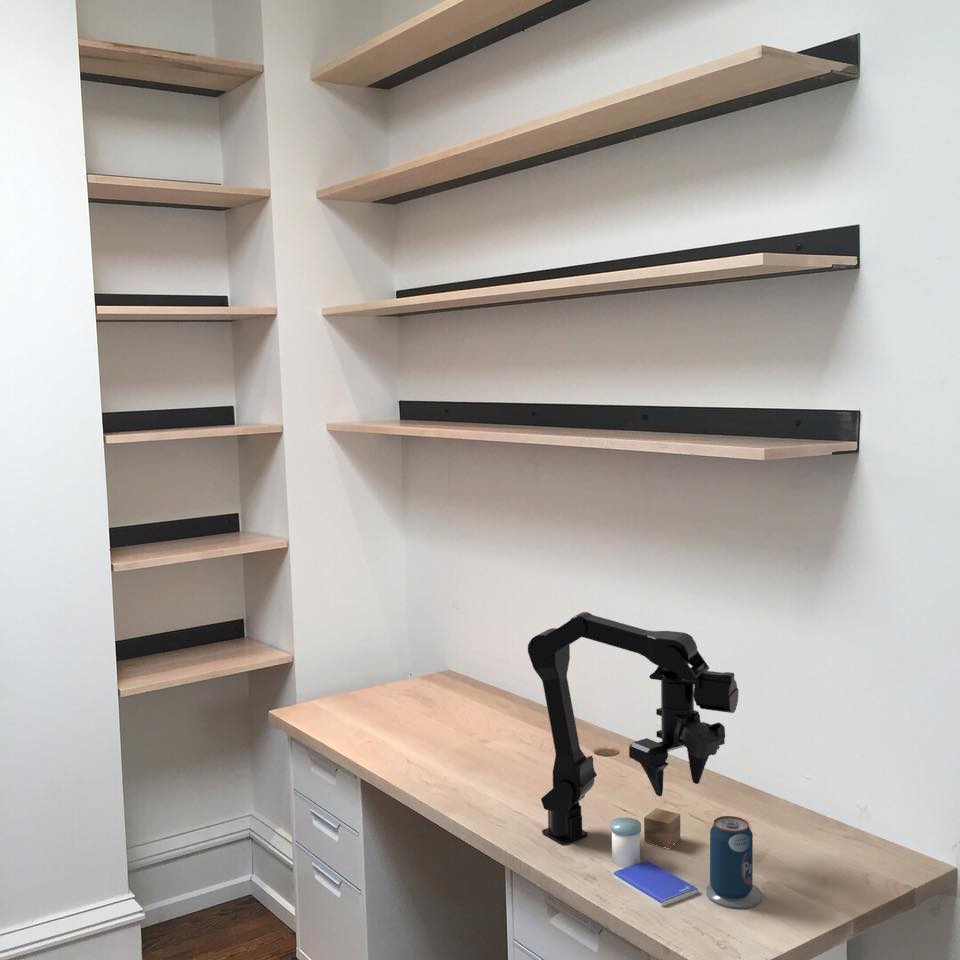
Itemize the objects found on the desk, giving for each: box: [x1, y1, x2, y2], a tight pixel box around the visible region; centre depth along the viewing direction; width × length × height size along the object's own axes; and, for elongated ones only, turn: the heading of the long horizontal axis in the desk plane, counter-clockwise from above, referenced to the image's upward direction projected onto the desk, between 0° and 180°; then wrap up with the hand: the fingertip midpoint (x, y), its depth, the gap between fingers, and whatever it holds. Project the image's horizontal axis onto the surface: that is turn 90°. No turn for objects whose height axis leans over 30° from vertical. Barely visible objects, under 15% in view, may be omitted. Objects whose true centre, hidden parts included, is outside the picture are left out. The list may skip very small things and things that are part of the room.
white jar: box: [610, 817, 642, 868], centre depth 187 cm, size 5×5×7 cm
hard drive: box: [613, 860, 699, 907], centre depth 178 cm, size 2×8×12 cm
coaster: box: [706, 883, 763, 910], centre depth 174 cm, size 9×9×1 cm
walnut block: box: [643, 807, 681, 849], centre depth 195 cm, size 5×5×5 cm
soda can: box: [709, 815, 754, 900], centre depth 173 cm, size 7×7×12 cm
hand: (677, 789), depth 186 cm, fingers open, 9 cm apart
